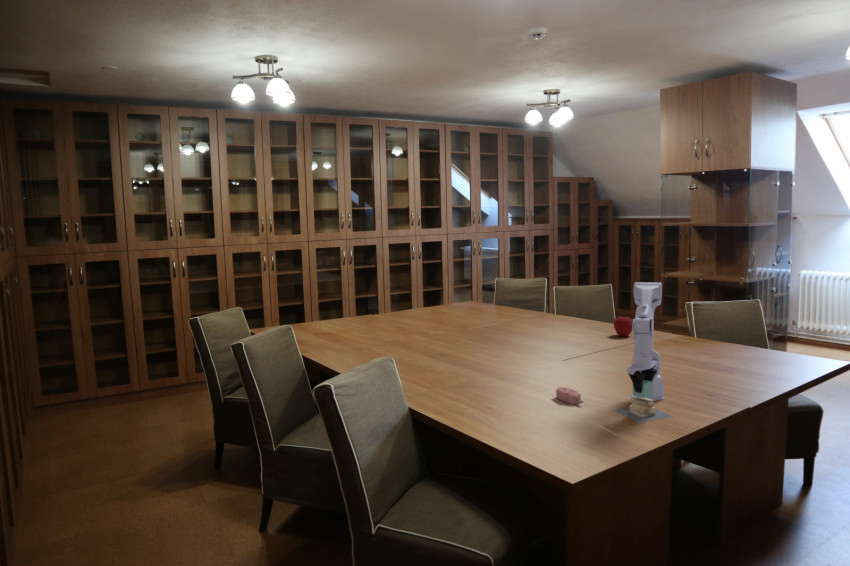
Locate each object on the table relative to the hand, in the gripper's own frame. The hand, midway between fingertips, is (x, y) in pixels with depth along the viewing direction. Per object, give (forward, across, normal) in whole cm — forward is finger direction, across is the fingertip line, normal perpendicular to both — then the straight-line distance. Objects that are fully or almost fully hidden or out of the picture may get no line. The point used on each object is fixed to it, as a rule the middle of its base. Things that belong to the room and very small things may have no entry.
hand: (642, 390), depth 205 cm
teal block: (+2, 0, 0) cm, 2 cm away
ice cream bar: (+9, +7, -26) cm, 28 cm away
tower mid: (+6, 0, 0) cm, 6 cm away
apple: (+8, -104, -83) cm, 133 cm away
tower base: (+8, 0, 0) cm, 8 cm away
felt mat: (+8, 0, 0) cm, 8 cm away
